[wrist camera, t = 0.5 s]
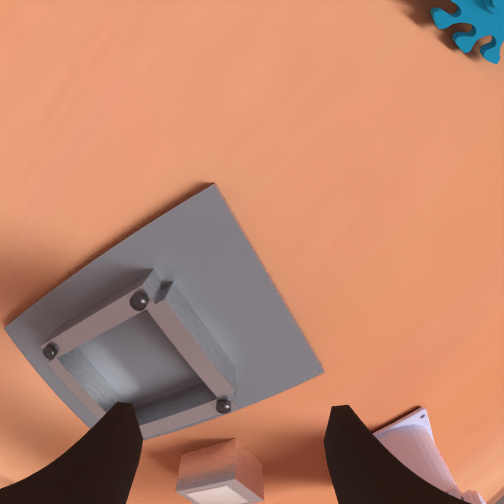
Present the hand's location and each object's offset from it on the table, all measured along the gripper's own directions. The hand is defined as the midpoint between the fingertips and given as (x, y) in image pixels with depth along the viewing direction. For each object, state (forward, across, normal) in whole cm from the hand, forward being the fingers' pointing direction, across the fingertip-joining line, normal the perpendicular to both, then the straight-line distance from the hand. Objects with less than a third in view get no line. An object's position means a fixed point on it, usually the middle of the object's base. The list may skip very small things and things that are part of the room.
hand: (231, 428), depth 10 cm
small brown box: (+10, +2, +16) cm, 19 cm away
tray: (+10, +6, +4) cm, 12 cm away
